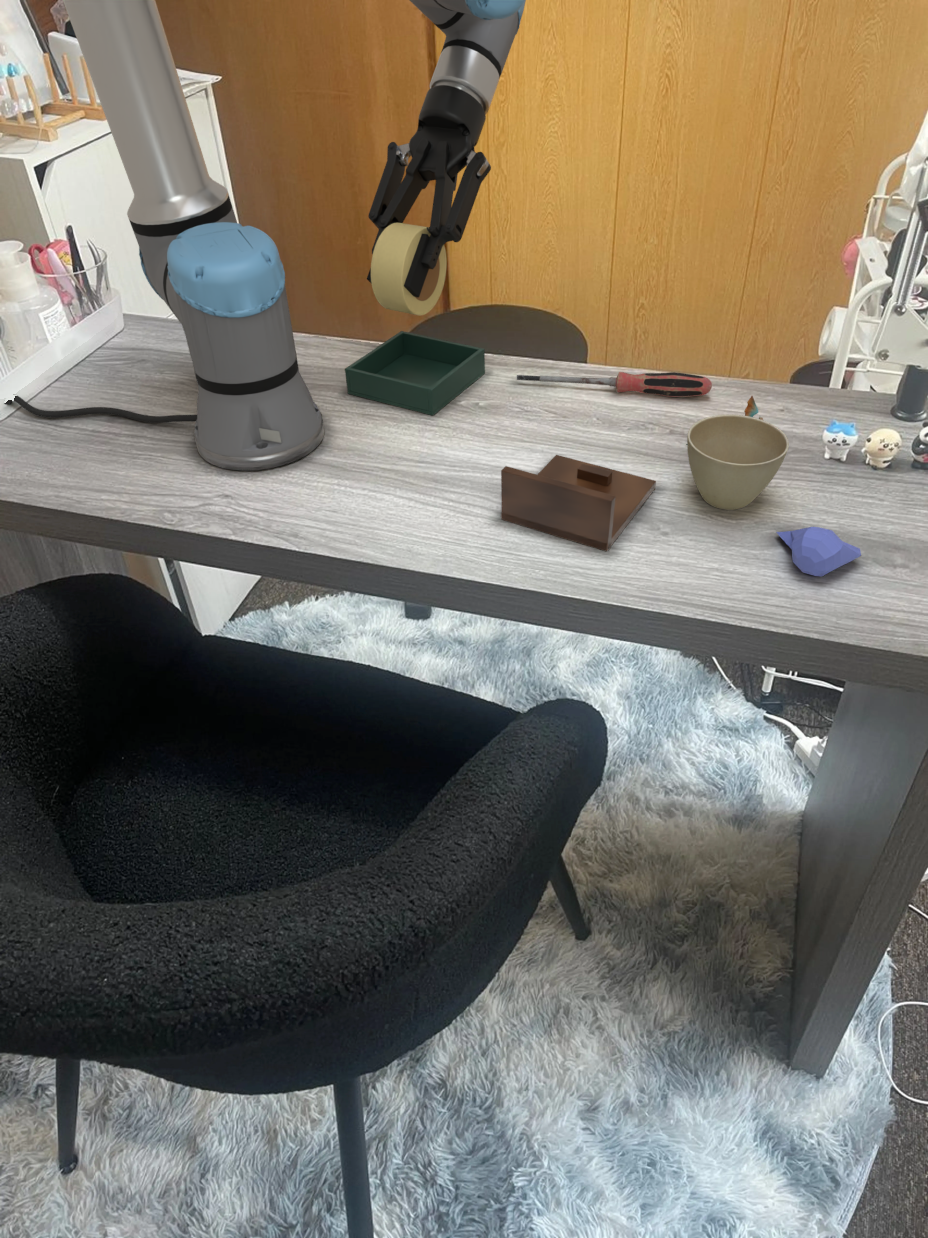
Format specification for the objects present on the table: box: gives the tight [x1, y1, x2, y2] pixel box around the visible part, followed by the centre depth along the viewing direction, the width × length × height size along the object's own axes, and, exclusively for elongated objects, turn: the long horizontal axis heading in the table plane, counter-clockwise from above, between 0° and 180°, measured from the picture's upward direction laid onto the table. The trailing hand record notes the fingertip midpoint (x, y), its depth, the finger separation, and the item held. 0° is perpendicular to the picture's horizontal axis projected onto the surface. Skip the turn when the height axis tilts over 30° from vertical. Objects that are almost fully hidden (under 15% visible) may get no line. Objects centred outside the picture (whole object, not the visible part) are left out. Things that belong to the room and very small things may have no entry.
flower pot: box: [686, 413, 790, 511], centre depth 92 cm, size 10×10×7 cm
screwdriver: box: [516, 371, 713, 398], centre depth 113 cm, size 25×3×3 cm
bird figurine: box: [776, 526, 862, 577], centre depth 85 cm, size 8×6×6 cm
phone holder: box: [500, 454, 657, 552], centre depth 93 cm, size 12×13×6 cm
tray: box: [344, 330, 486, 417], centre depth 116 cm, size 13×13×4 cm
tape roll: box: [370, 222, 448, 316], centre depth 108 cm, size 5×10×10 cm, turn 149°
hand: (392, 287), depth 106 cm, fingers closed on tape roll, 5 cm apart
